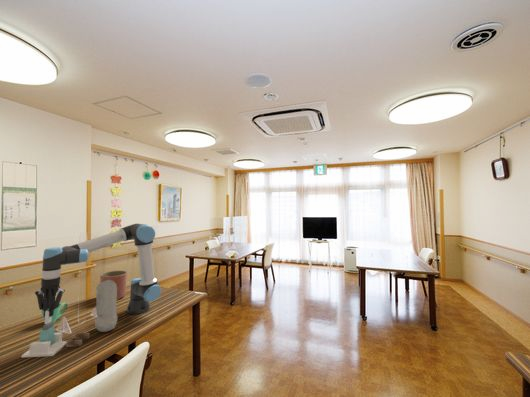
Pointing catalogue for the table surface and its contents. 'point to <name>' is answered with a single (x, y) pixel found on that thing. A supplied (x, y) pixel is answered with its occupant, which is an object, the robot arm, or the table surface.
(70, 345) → the holster
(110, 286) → the sculpture
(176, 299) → the table surface
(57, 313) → the mug
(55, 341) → the port
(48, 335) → the plug
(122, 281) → the planter
